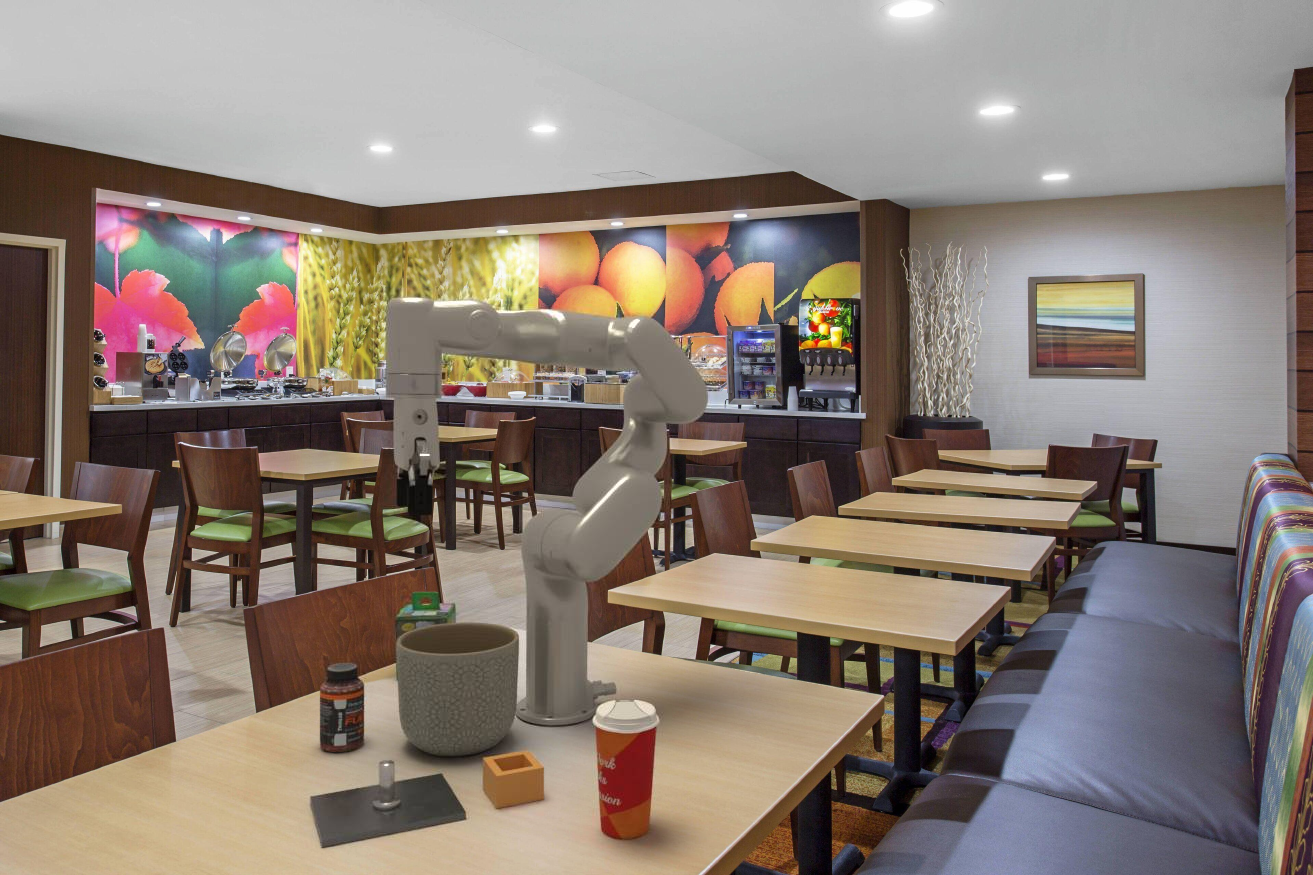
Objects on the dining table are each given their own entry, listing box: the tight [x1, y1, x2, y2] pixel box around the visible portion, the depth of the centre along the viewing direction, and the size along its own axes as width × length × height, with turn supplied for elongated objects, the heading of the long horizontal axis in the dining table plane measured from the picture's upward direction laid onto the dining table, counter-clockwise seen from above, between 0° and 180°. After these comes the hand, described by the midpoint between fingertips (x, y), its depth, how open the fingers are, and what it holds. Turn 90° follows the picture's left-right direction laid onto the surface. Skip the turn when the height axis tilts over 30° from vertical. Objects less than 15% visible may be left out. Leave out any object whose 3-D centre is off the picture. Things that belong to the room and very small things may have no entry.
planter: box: [396, 621, 520, 758], centre depth 131 cm, size 17×17×15 cm
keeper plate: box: [309, 759, 467, 848], centre depth 110 cm, size 16×12×6 cm
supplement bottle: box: [319, 662, 365, 753], centre depth 129 cm, size 6×6×11 cm
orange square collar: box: [482, 749, 545, 809], centre depth 115 cm, size 6×6×4 cm
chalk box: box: [394, 591, 457, 682], centre depth 162 cm, size 9×9×15 cm
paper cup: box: [592, 699, 660, 840], centre depth 106 cm, size 8×8×14 cm
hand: (413, 510), depth 129 cm, fingers open, 9 cm apart
